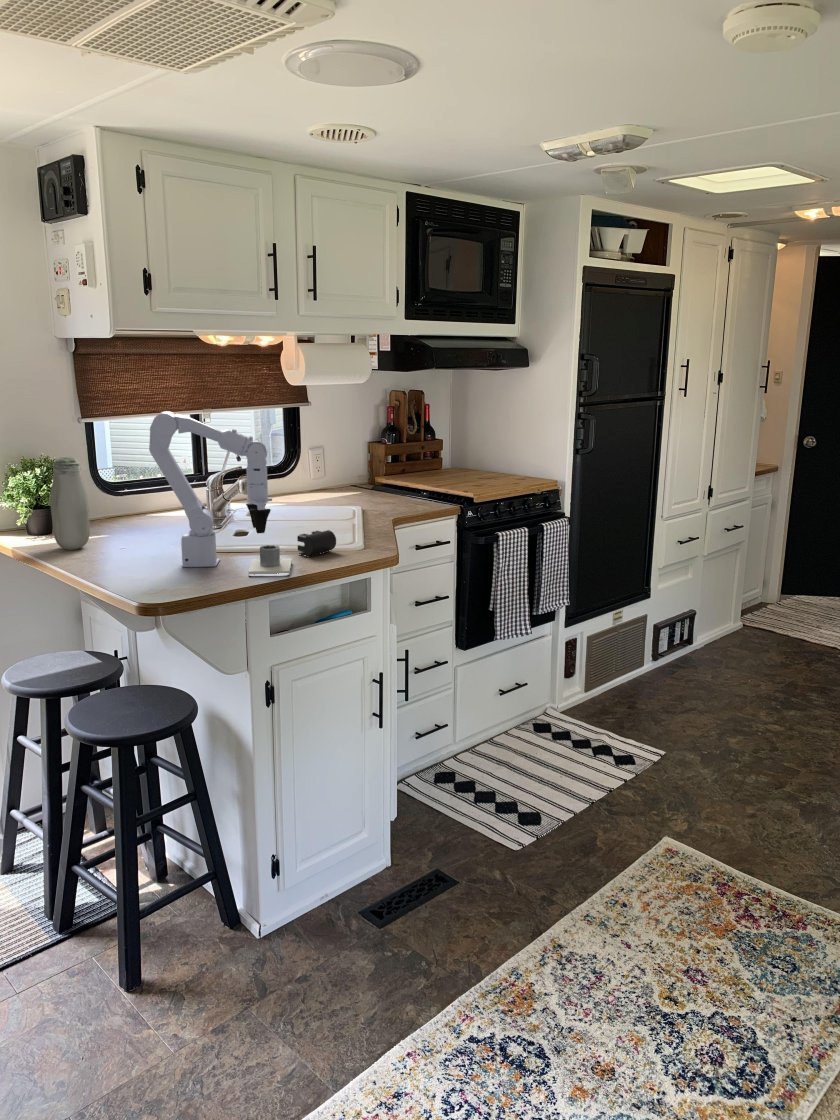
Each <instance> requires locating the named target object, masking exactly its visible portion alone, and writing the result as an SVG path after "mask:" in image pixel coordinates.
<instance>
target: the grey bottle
mask: <svg viewBox="0 0 840 1120" xmlns="http://www.w3.org/2000/svg"><path fill="white" fill-rule="evenodd" d="M80 465H81V464H80V463H79V461H78V460H77V459H76V458H75V457H72V456H64V457H59V458H57V459H55V461H54V463H53V465H52V471H53V475H52V485H51V489H50V495H49V502H50V504H49V505H50V515H51V519H52V520H51V521H52V522H51V523H52V529H53V530H52V532H53V536H54V539H55V542H56V544H57V545H58V546H59V547H60V548H62V549H64V550H69V551H74V550H78V549H81V548H84V546H86V545H87V543H88V542H89V538H90V536H91V526H90V516H89V515H90V514H89V498H88V494H87V489H86V486H85V484H84V481H83V478H82V474H81V466H80Z"/></svg>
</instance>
